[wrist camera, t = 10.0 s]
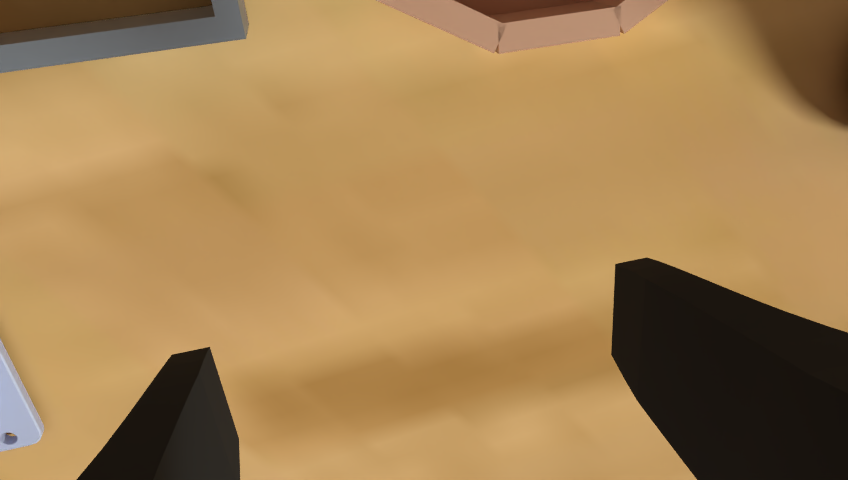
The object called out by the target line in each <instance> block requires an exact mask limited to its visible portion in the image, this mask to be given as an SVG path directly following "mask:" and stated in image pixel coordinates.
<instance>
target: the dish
mask: <svg viewBox="0 0 848 480" xmlns="http://www.w3.org/2000/svg"><path fill="white" fill-rule="evenodd" d="M376 1H379V2H381V3H383V4H385V5H388V6H390V7H392V8H394V9H396V10H399V11H401V12H403V13H405V14H408V15H410V16H412V17H414V18H417V19H419V20H421V21H423V22H425V23H428V24H430V25H432V26H434V27H437V28H439V29H441V30H443V31H446V32H448V33H450V34H452V35H455V36H457V37H459V38H461V39H463V40H466V41H468V42H470V43H472V44H475V45H477V46H479V47H481V48H484V49H486V50H488V51H490V52H492V53H494V52H497V53H498V54H501V53H508V52H515V51H521V50H528V49H535V48H541V47H548V46H554V45H561V44H568V43H574V42H581V41H588V40H594V39H601V38H607V37H614V36H620V32H621V33H624V34H625V33H626V32H627V31H628V30H630V29H631V28H632V27H634V26H635V25H636V24H638V23H639V22H640V21H641V20H643V19H644V18H645V17H647V16H648V15H649V14H651V13H652V12H653V11H654V10H656V9H657V8H658V7H660V6H661V5H662V4H664V3H665V2H666V1H667V0H376Z"/></svg>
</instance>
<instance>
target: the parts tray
mask: <svg viewBox="0 0 848 480" xmlns="http://www.w3.org/2000/svg"><path fill="white" fill-rule="evenodd" d="M211 2H212V6H205V7H197V8H189V9H182V10H174V11H167V12H159V13H151V14H144V15H136V16H129V17H121V18H113V19H106V20H98V21H91V22H83V23H75V24H68V25H60V26H52V27H45V28H37V29H30V30H22V31H14V32H7V33H0V73H4V72H11V71H18V70H25V69H32V68H40V67H47V66H54V65H61V64H68V63H75V62H83V61H90V60H97V59H104V58H111V57H118V56H126V55H133V54H140V53H147V52H154V51H161V50H169V49H176V48H183V47H190V46H197V45H204V44H212V43H219V42H226V41H233V40H240V39H246V36H247V31H248V26H249V22H248V18H247V13H246V8H245V4H244V0H211Z"/></svg>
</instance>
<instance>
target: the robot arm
mask: <svg viewBox="0 0 848 480" xmlns="http://www.w3.org/2000/svg"><path fill="white" fill-rule="evenodd" d="M611 355H612V357H613V358H614V360H615V362H616V364H617V366H618V368H619V370H620V371H621V373H622V375H623V377H624V379H625V381H626V382H627V384H628V386H629V387H630V389H631V391H632V392H633V394H634V396H635V398H636V399H637V401H638V402H639V404H640V405H641V406H642V408H643V409H644V410H645V412H646V413H647V414H648V416H649V417H650V418H651V420H652V421H653V422H654V424H655V425H656V426H657V428H658V429H659V430H660V432H661V433H662V434H663V436H664V437H665V438H666V440H667V441H668V442H669V443H670V445H671V446H672V447H673V449H674V450H675V451H676V453H677V454H678V455H679V456H680V458H681V459H682V460H683V462H684V463H685V464H686V466H687V467H688V468H689V469H690V471H691V472H692V473H693V475H694V476H695V477H696V479H697V480H848V333H847V332H844V331H841V330H838V329H834V328H831V327H828V326H825V325H822V324H820V323H817V322H814V321H811V320H808V319H805V318H802V317H800V316H797V315H794V314H791V313H788V312H785V311H783V310H780V309H777V308H775V307H772V306H770V305H767V304H764V303H762V302H759V301H757V300H754V299H751V298H749V297H747V296H744V295H742V294H739V293H737V292H734V291H732V290H729V289H727V288H724V287H722V286H719V285H717V284H715V283H712V282H710V281H707V280H705V279H702V278H700V277H698V276H695V275H693V274H690V273H688V272H685V271H683V270H680V269H678V268H675V267H673V266H670V265H667V264H665V263H662V262H659V261H656V260H653V259H650V258H643V259H638V260H633V261H628V262H623V263H618V264H615V286H614V309H613V331H612V354H611ZM43 431H44V425H43V423H42V421H41V419H40V417H39V415H38V413H37V411H36V409H35V407H34V405H33V403H32V401H31V399H30V397H29V395H28V393H27V391H26V389H25V387H24V385H23V383H22V381H21V379H20V377H19V375H18V373H17V371H16V369H15V367H14V365H13V363H12V361H11V359H10V357H9V355H8V353H7V351H6V349H5V347H4V345H3V343H2V341H1V339H0V452H1V451H6V450H10V449H15V448H20V447H24V446H29V445H32V444H35V443H37V442H38V441H39V440H40V439H41V436H42V434H43ZM6 433H13V434H15V435H16V436H9V435H7V434H6ZM77 480H240V460H239V438H238V435H237V431H236V428H235V425H234V422H233V419H232V416H231V413H230V409H229V406H228V403H227V400H226V397H225V394H224V391H223V387H222V384H221V381H220V378H219V375H218V372H217V369H216V365H215V362H214V359H213V356H212V353H211V350H210V347H208V348H203V349H198V350H193V351H188V352H183V353H178V354H173V355H171V357H170V358H169V359H168V361H167V362H166V363H165V365H164V366H163V367H162V369H161V370H160V371H159V373H158V374H157V376H156V377H155V378H154V380H153V381H152V382H151V384H150V385H149V387H148V388H147V389H146V391H145V392H144V394H143V395H142V396H141V398H140V399H139V401H138V402H137V403H136V405H135V406H134V407H133V409H132V410H131V412H130V413H129V414H128V416H127V417H126V418H125V420H124V421H123V422H122V424H121V425H120V426H119V428H118V429H117V430H116V431H115V433H114V434H113V435H112V437H111V438H110V439H109V441H108V442H107V443H106V445H105V446H104V447H103V449H102V450H101V451H100V452H99V453H98V455H97V456H96V457H95V458H94V459H93V461H92V462H91V463H90V464H89V465H88V467H87V468H86V469H85V470H84V471H83V473H82V474H81V475H80V476H79V477H78V479H77Z"/></svg>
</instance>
